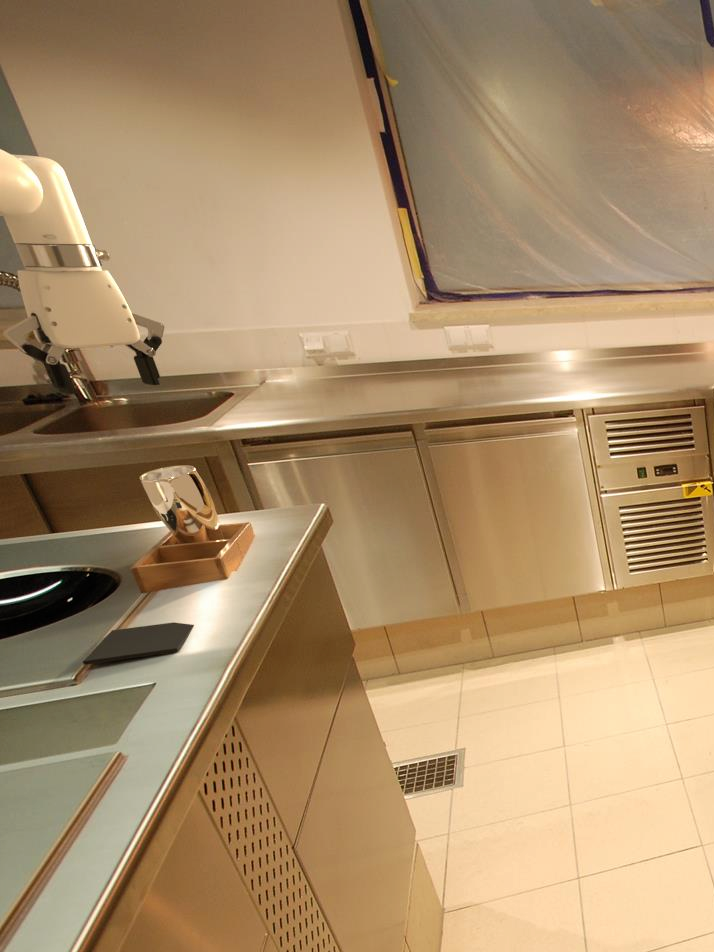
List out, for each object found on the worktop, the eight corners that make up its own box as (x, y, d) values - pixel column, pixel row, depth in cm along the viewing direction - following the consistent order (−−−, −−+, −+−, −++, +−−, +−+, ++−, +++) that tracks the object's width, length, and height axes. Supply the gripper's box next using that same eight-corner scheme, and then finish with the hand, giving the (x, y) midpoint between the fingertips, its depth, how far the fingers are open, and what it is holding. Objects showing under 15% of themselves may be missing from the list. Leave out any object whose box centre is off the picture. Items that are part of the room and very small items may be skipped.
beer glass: (174, 569, 131) (125, 478, 123) (217, 551, 137) (172, 463, 129) (209, 574, 130) (161, 482, 122) (251, 555, 135) (208, 466, 128)
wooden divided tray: (143, 600, 120) (129, 568, 118) (183, 558, 135) (171, 529, 133) (232, 590, 124) (220, 558, 122) (260, 550, 140) (250, 521, 137)
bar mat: (83, 665, 102) (82, 661, 102) (113, 633, 110) (111, 630, 110) (178, 651, 106) (176, 648, 105) (200, 622, 114) (198, 619, 113)
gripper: (124, 258, 123) (168, 379, 130) (-42, 258, 108) (18, 394, 116) (152, 260, 120) (195, 383, 127) (-14, 260, 106) (45, 399, 113)
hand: (111, 388), depth 121 cm, fingers open, 9 cm apart
